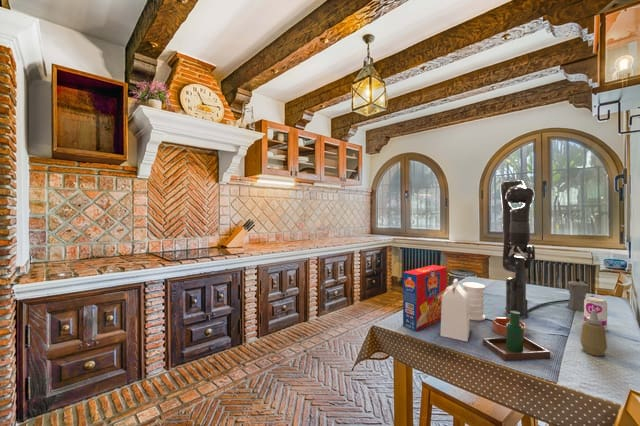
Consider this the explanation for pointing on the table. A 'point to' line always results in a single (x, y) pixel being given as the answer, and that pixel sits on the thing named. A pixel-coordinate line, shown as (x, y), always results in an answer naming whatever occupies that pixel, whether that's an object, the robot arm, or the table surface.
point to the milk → (455, 313)
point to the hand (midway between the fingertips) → (519, 266)
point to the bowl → (504, 326)
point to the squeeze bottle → (593, 335)
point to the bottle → (514, 333)
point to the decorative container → (475, 300)
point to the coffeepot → (577, 294)
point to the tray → (529, 352)
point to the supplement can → (597, 305)
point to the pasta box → (423, 296)
